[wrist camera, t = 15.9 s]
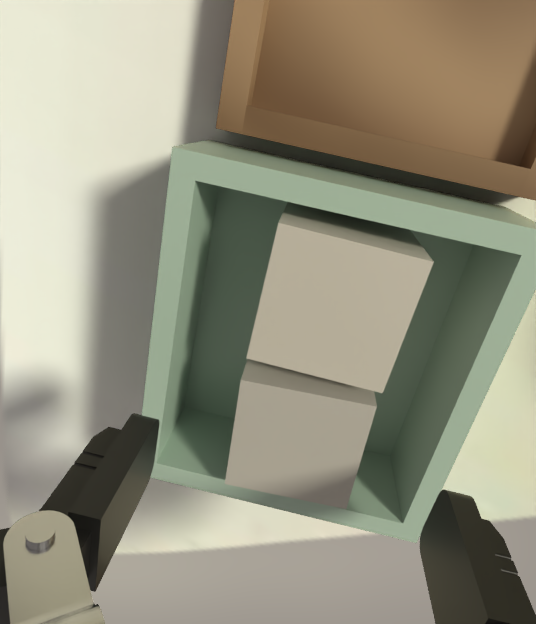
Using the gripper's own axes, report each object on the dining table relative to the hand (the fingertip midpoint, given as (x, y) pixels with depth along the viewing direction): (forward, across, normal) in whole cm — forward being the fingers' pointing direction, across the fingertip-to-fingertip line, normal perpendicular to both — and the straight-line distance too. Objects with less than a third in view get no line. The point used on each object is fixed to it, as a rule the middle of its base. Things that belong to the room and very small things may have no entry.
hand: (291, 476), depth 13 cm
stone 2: (+5, 0, 0) cm, 5 cm away
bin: (+6, 0, -2) cm, 6 cm away
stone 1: (+5, 0, -4) cm, 7 cm away
